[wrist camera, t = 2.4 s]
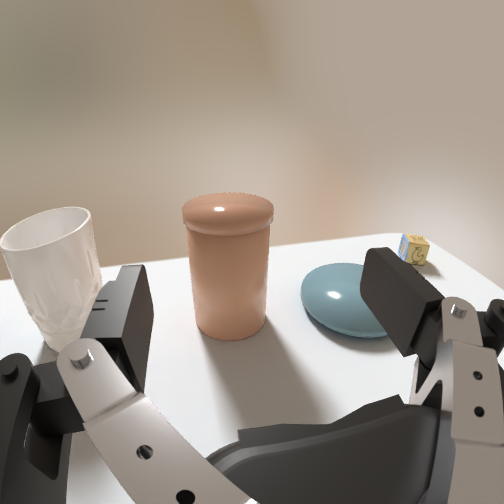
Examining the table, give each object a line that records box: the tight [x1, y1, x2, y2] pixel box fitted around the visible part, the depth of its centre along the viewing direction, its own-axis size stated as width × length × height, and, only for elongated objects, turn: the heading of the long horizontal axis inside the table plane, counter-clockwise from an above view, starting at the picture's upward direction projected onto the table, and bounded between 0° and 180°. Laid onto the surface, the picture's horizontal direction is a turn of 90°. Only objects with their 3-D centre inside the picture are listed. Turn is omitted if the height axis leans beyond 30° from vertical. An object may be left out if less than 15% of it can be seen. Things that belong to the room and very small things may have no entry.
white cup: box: [0, 207, 103, 353], centre depth 20 cm, size 8×8×10 cm
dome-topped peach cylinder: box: [182, 193, 274, 341], centre depth 23 cm, size 6×6×10 cm
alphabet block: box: [398, 234, 430, 265], centre depth 34 cm, size 3×3×3 cm
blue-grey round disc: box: [301, 263, 388, 338], centre depth 27 cm, size 11×11×1 cm
